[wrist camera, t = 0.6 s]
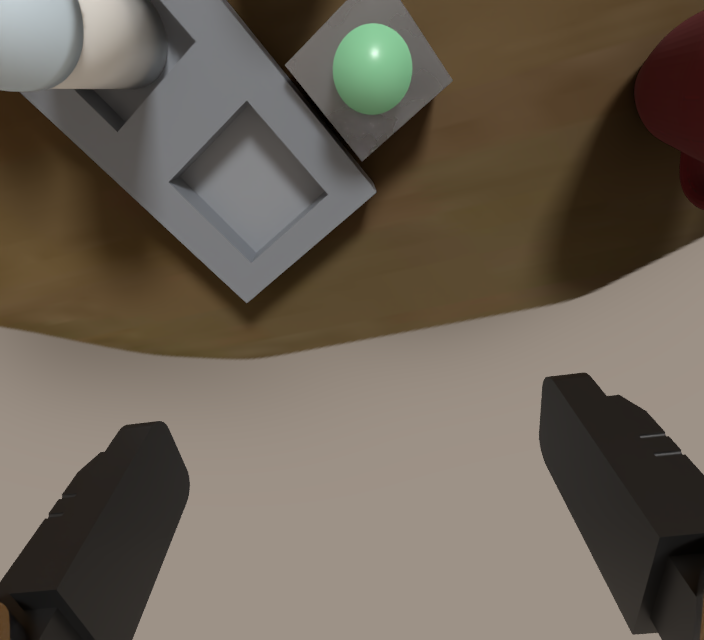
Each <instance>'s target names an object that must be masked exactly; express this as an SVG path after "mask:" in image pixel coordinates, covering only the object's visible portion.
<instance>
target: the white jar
mask: <svg viewBox="0 0 704 640" xmlns="http://www.w3.org/2000/svg"><path fill="white" fill-rule="evenodd" d="M167 52H168V42H167V35H166V31H165V27H164V24H163V22H162V19H161V17H160V15H159V13H158V12H157V10H156V8H155V7H154V6H153V4H152V3H151V2H150V0H0V90H3V91H12V92H36V91H43V90H47V89H138V88H142V87H145V86H147V85H149V84H150V83H152V82H153V81H154V80H155V79H156V78H157V77H158V76H159V75H160V73H161V72H162V70H163V68H164V65H165V63H166V59H167Z"/></svg>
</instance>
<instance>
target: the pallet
mask: <svg viewBox="0 0 704 640" xmlns="http://www.w3.org/2000/svg"><path fill="white" fill-rule="evenodd" d="M150 2H151V3H152V4H153V6H154V7H155V8H156V10H157V12H158V13H159V15H160V17H161V19H162V22H163V24H164V27H165V31H166V35H167V42H168V52H167V59H166V63H165V65H164V68H163V70H162V72H161V73H160V75H159V76H158V77H157V78H156V79H155V80H154V81H153V82H152V83H150V84H149V85H147V86H145V87H142V88H138V89H47V90H43V91H36V92H20V93H21V94H22V95H23V96H24V97H26V98H27V99H28V100H29V101H30V102H31V103H32V104H33V105H34V106H35V107H36V108H37V109H38V110H40V111H41V112H42V113H43V114H44V115H45V116H46V117H47V118H48V119H49V120H50V121H51V122H52V123H53V124H55V125H56V126H57V127H58V128H59V129H60V130H61V131H62V132H63V133H64V134H65V135H66V136H67V137H69V138H70V139H71V140H72V141H73V142H74V143H75V144H76V145H77V146H78V147H79V148H80V149H81V150H82V151H84V152H85V153H86V154H87V155H88V156H89V157H90V158H91V159H92V160H93V161H94V162H95V163H96V164H98V165H99V166H100V167H101V168H102V169H103V170H104V171H105V172H106V173H107V174H108V175H109V176H110V177H111V178H113V179H114V180H115V181H116V182H117V183H118V184H119V185H120V186H121V187H122V188H123V189H124V190H125V191H127V192H128V193H129V194H130V195H131V196H132V197H133V198H134V199H135V200H136V201H137V202H138V203H139V204H140V205H142V206H143V207H144V208H145V209H146V210H147V211H148V212H149V213H150V214H151V215H152V216H153V217H154V218H156V219H157V220H158V221H159V222H160V223H161V224H162V225H163V226H164V227H165V228H166V229H167V230H168V231H169V232H171V233H172V234H173V235H174V236H175V237H176V238H177V239H178V240H179V241H180V242H181V243H182V244H183V245H185V246H186V247H187V248H188V249H189V250H190V251H191V252H192V253H193V254H194V255H195V256H196V257H197V258H198V259H200V260H201V261H202V262H203V263H204V264H205V265H206V266H207V267H208V268H209V269H210V270H211V271H212V272H214V273H215V274H216V275H217V276H218V277H219V278H220V279H221V280H222V281H223V282H224V283H225V284H226V285H227V286H229V287H230V288H231V289H232V290H233V291H234V292H235V293H236V294H237V295H238V296H239V297H240V298H241V299H243V300H244V301H245V302H246V303H248V302H249V301H250V300H251V299H252V298H254V297H255V296H256V295H257V294H258V293H259V292H261V291H262V290H263V289H264V288H265V287H266V286H268V285H269V284H270V283H271V282H272V281H273V280H275V279H276V278H277V277H278V276H279V275H281V274H282V273H283V272H284V271H285V270H286V269H288V268H289V267H290V266H291V265H292V264H293V263H295V262H296V261H297V260H298V259H299V258H300V257H302V256H303V255H304V254H305V253H306V252H307V251H309V250H310V249H311V248H312V247H313V246H314V245H316V244H317V243H318V242H319V241H320V240H321V239H323V238H324V237H325V236H326V235H327V234H328V233H330V232H331V231H332V230H333V229H334V228H335V227H337V226H338V225H339V224H340V223H341V222H342V221H344V220H345V219H346V218H347V217H348V216H350V215H351V214H352V213H353V212H354V211H355V210H357V209H358V208H359V207H360V206H361V205H362V204H364V203H365V202H366V201H367V200H368V199H369V198H371V197H372V196H373V195H374V194H375V193H376V189H375V186H374V183H373V181H372V180H371V179H370V178H369V176H368V175H367V174H366V173H365V171H364V170H363V169H362V168H361V167H360V165H359V164H358V163H357V162H356V160H355V159H354V158H353V157H352V155H351V154H350V153H349V152H348V150H347V149H346V148H345V147H344V145H343V144H342V143H341V142H340V140H339V139H338V138H337V137H336V136H335V134H334V133H333V132H332V131H331V129H330V128H329V127H328V126H327V124H326V123H325V122H324V121H323V119H322V118H321V117H320V116H319V114H318V113H317V112H316V111H315V109H314V108H313V107H312V106H311V104H310V103H309V102H308V101H307V100H306V98H305V97H304V96H303V95H302V93H301V92H300V91H299V90H298V88H297V87H296V86H295V85H294V83H293V82H292V81H291V80H290V78H289V77H288V76H287V75H286V73H285V72H284V71H283V70H282V68H281V67H280V66H279V65H278V64H277V62H276V61H275V60H274V59H273V57H272V56H271V55H270V54H269V52H268V51H267V50H266V49H265V47H264V46H263V45H262V44H261V42H260V41H259V40H258V39H257V37H256V36H255V35H254V34H253V33H252V31H251V30H250V29H249V28H248V26H247V25H246V24H245V23H244V21H243V20H242V19H241V18H240V16H239V15H238V14H237V13H236V11H235V10H234V9H233V8H232V6H231V5H230V4H229V3H228V1H227V0H150Z"/></svg>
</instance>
